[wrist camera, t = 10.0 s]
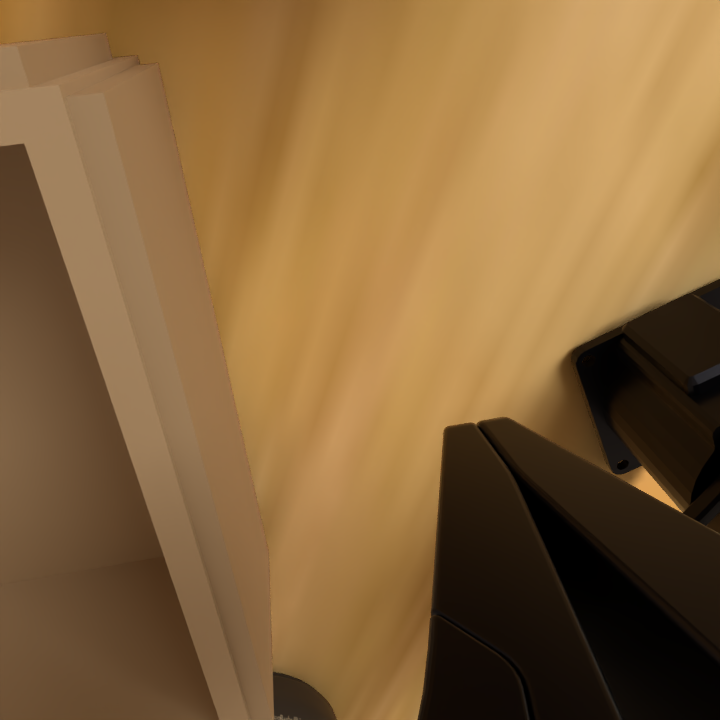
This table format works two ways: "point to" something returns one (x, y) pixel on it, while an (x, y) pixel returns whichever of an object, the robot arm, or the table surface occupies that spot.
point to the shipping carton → (116, 415)
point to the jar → (298, 700)
